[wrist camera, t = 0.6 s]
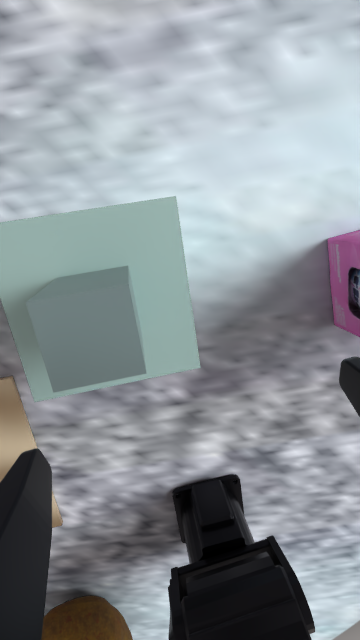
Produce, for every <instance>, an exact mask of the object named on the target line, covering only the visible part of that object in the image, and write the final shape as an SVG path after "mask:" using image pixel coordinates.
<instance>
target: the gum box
mask: <svg viewBox="0 0 360 640" xmlns="http://www.w3.org/2000/svg"><path fill="white" fill-rule="evenodd" d="M328 252H329V264H330V283H331V295H332V303H333V314H334V325H336V326H338V327H340V328H342V329H344V330H346V331H348V332H350V333H352V334H354V335H356V336H358V337H360V230H358V231H355V232H351V233H347V234H343V235H340V236H336V237H332V238H329V239H328Z"/></svg>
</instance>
